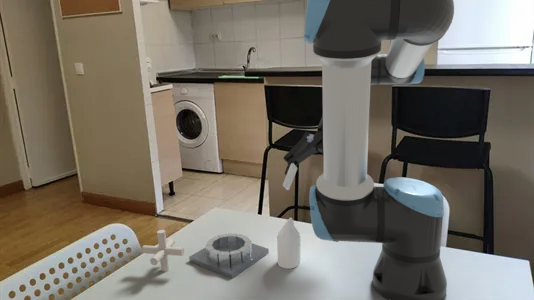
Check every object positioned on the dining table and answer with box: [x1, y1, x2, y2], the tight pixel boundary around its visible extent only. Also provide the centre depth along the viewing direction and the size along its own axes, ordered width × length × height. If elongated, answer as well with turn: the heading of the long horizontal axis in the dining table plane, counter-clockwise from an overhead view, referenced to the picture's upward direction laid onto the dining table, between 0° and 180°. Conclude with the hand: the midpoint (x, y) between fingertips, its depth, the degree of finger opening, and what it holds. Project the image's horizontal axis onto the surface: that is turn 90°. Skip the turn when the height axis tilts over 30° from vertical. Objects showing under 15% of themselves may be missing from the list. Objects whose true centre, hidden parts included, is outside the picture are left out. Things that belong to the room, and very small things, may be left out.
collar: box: [188, 233, 270, 279], centre depth 109 cm, size 14×14×4 cm
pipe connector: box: [141, 229, 185, 272], centre depth 103 cm, size 10×10×10 cm
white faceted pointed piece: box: [276, 217, 302, 270], centre depth 104 cm, size 6×12×6 cm
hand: (308, 192), depth 109 cm, fingers open, 13 cm apart
